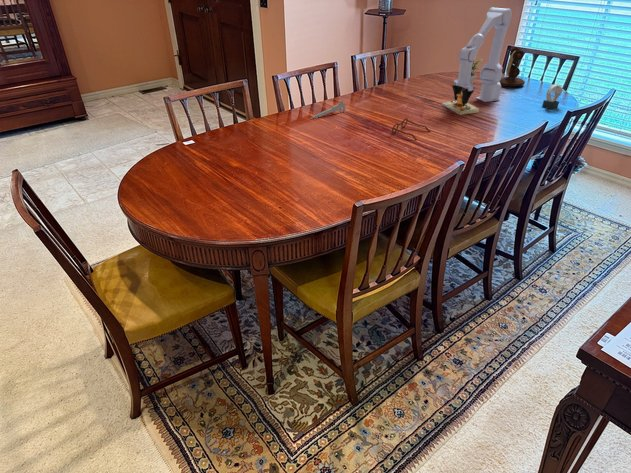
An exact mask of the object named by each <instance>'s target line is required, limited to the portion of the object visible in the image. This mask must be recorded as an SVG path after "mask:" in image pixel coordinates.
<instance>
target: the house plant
mask: <svg viewBox="0 0 631 473" xmlns="http://www.w3.org/2000/svg"><path fill="white" fill-rule="evenodd" d="M483 61H486V60H483V58H480V59H478V60H477V61H476V62H475V60H474V61H473V64H472V70H471V77H470V84H471V85H472V86H473V83H474V80H475V78H476V74H475V73H474V71H477V67H478V66H479V65H481V64H482V63H481V62H483ZM479 70H482V68H481V67H480V68H479Z"/></svg>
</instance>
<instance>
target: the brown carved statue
mask: <svg viewBox="0 0 631 473" xmlns="http://www.w3.org/2000/svg"><path fill="white" fill-rule="evenodd" d="M509 56H510V57H509V59H508V62H507V67H506V70H505V73H506V75H507V76H504V77H503V76H502V78H501V80H500V81H499V82H500V84H501V86H502V88H505V87H520V88H522V87H523V85H525V83H526V81H525V80H524V79H522V78H521V77H519V75H520V74H521V73H520V72H521V69H519V68H518V67H519V66H520V61H521V60H522V59H523V58H524V51H523V50H522V49H520V48H519V47H514V48H512V49H511V50H510V51H509Z"/></svg>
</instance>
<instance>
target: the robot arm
mask: <svg viewBox="0 0 631 473" xmlns="http://www.w3.org/2000/svg"><path fill="white" fill-rule="evenodd" d="M512 16H513V13H512V9H511V8H503V7H502V8H500V7H495V6H493V7H490V8H489V9H488V11H487V13H486V17H485V21H484V22H483V25H481V28H480V29H479V31H478V33H476V34H474V35H473V36H472V37H471V39H470V40H469V42H468V43H467V44H466V45H465V47H463V48H461V49H460V51H459V54H458V59H459V61H458V62H459V69H458V70H459V71H458V77H457V79H454V80H453V85H451V87H452V91H453V95H454V101H457V97H458V96H457V93H462V94H463V101H462V103H463V104H467V103H468V102H469V99H470V98H471V96H472V94H474V91H475V90H474V86H473V84H472V85H471V84H470V77H471V70H472V67H473V66H472V64H473V61H474V62H475V60H476V58H477V55H478V53H479V50H480V48H481V47H482V45H483V44H484V42H485V37H486V36H487V35H488V33H489V32H490V31H491V30H492V29H493V27H494V28H495V32H494V35H493V40H492V44H491V49H490V52H489V57H488V61H487V62H486V63H485V64H483V65H482V68H481V70H480V73H479V78H480V80H481V81H480V82H481V87H480V94H479V96H476V99H478V100H479V101H482V102H484V103H487V102H494V101H500V100H501V99H500V96H501V90H502V85H501V84H500V82H499V81H500V80H501V78H503V68H504V67H503V66H502V65H501V64H500V59H501V55H502V53H503V46H504V43H505V38H506V35H507V31H508V28H509V27H510V24H511V21H512ZM473 65H474V64H473Z"/></svg>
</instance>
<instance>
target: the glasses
mask: <svg viewBox="0 0 631 473" xmlns="http://www.w3.org/2000/svg"><path fill="white" fill-rule="evenodd" d="M405 121H406V122H405ZM408 123H409V124H410V123H411V124H412V125H415V126H417V127H422V128H425V129H426V131H427V132H429V133H431V130H430V129H429V128H428V127H427V126H426V125H423V124H418V123H415V122H413V121H411V120H409V119H408V117H406V118H403V120H402V121H401V122H398V123H395V124H394V125H393V126H392V130H391V134H393V135H394V134H395V133H397V132H398V133H400V134H403V135H407V136H408V135H409V136H411V137H413V139H414V140H415V141H418V139H417V138H416V136H415V135H414V134H412V133H410V132H405V131H403V130H400V129H398V128H399V126H401V129H404V128H405V127H406V126H407V124H408Z"/></svg>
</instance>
